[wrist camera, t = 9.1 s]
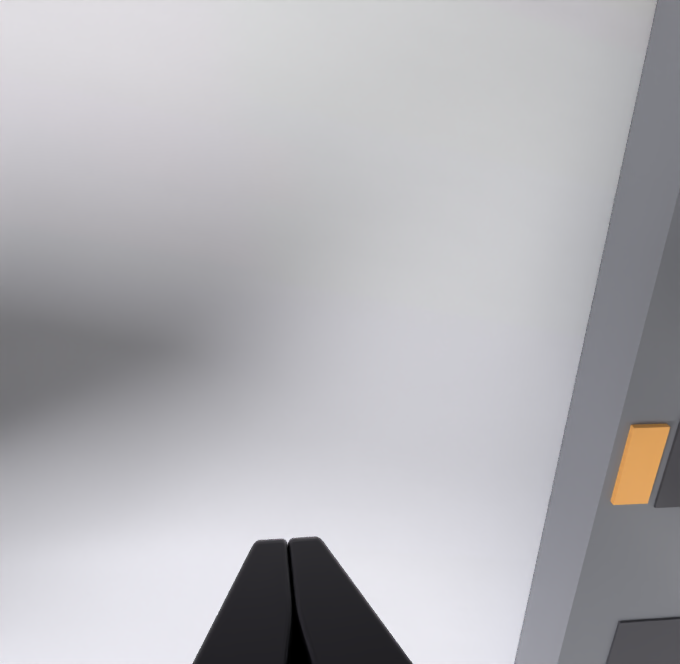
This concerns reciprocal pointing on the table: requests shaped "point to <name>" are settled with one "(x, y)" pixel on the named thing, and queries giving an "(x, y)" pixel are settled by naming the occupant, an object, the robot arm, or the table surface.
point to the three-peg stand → (623, 416)
